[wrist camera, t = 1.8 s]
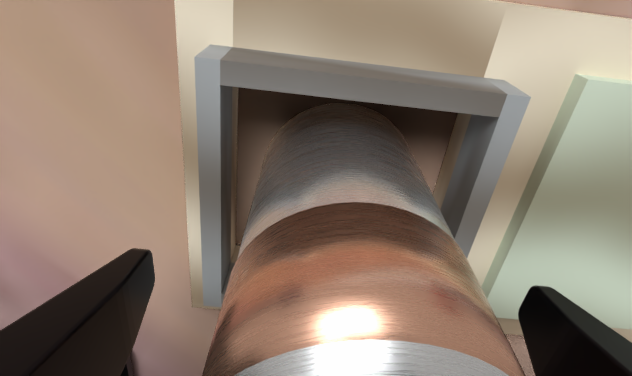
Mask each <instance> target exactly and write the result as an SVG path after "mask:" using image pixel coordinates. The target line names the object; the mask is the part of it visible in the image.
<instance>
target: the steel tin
mask: <svg viewBox="0 0 632 376" xmlns="http://www.w3.org/2000/svg"><path fill="white" fill-rule="evenodd" d="M202 376H525V374H524V372H523V370H522V368H521V366H520V364H519V362H518V360H517V358H516V356H515V354H514V352H513V350H512V348H511V346H510V344H509V342H508V340H507V338H506V336H505V334H504V332H503V330H502V328H501V326H500V324H499V322H498V320H497V318H496V316H495V314H494V312H493V310H492V308H491V306H490V304H489V302H488V300H487V298H486V296H485V294H484V292H483V290H482V288H481V286H480V284H479V282H478V280H477V278H476V276H475V274H474V272H473V270H472V268H471V266H470V264H469V262H468V260H467V258H466V256H465V255H464V253H463V251H462V250H461V248H460V247H459V245H458V244H457V243H456V241H455V239H454V237H453V235H452V233H451V231H450V229H449V227H448V225H447V223H446V221H445V219H444V217H443V215H442V213H441V211H440V209H439V207H438V205H437V203H436V201H435V199H434V197H433V195H432V193H431V191H430V189H429V186H428V184H427V182H426V180H425V178H424V176H423V174H422V172H421V170H420V168H419V166H418V164H417V162H416V160H415V158H414V156H413V154H412V152H411V150H410V148H409V146H408V144H407V142H406V140H405V138H404V137H403V135H402V133H401V132H400V131H399V130H398V128H397V127H396V126H395V125H394V124H393V123H392V122H391V121H390V120H388V119H387V118H386V117H384V116H383V115H381V114H380V113H378V112H376V111H374V110H371V109H369V108H366V107H363V106H360V105H354V104H348V103H332V104H325V105H320V106H316V107H313V108H310V109H307V110H305V111H303V112H301V113H299V114H297V115H296V116H294V117H293V118H291V119H290V120H289V121H288V122H286V123H285V124H284V125H283V126H282V127H281V128H280V129H279V131H278V132H277V133H276V134H275V136H274V137H273V139H272V140H271V142H270V144H269V146H268V149H267V151H266V155H265V158H264V162H263V166H262V169H261V173H260V177H259V180H258V184H257V188H256V191H255V195H254V199H253V202H252V206H251V210H250V213H249V217H248V221H247V224H246V228H245V232H244V236H243V239H242V243H241V247H240V250H239V254H238V258H237V261H236V263H235V265H234V267H233V269H232V271H231V275H230V278H229V282H228V285H227V289H226V292H225V296H224V299H223V303H222V307H221V310H220V314H219V317H218V321H217V325H216V328H215V332H214V335H213V339H212V342H211V346H210V350H209V353H208V357H207V360H206V364H205V368H204V371H203V375H202Z"/></svg>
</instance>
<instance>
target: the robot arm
mask: <svg viewBox="0 0 632 376" xmlns="http://www.w3.org/2000/svg"><path fill="white" fill-rule="evenodd" d="M154 282H155V274H154V265H153V257H152V253H151V251H150V250H146V249H136V248H134V249H130V250H128V251H127V252H125V253H124V254H122V255H120V256H119V257H117V258H116V259H114V260H112V261H111V262H109V263H108V264H106V265H104V266H103V267H101V268H100V269H98V270H96V271H95V272H93V273H92V274H90V275H88V276H87V277H85V278H84V279H82V280H80V281H79V282H77V283H76V284H74V285H72V286H71V287H69V288H68V289H66V290H64V291H63V292H61V293H60V294H58V295H56V296H55V297H53V298H52V299H50V300H48V301H47V302H45V303H44V304H42V305H40V306H39V307H37V308H36V309H34V310H32V311H31V312H29V313H28V314H26V315H24V316H23V317H21V318H20V319H18V320H16V321H15V322H13V323H12V324H10V325H8V326H7V327H5V328H4V329H2V330H0V376H134V375H133V370H132V364H131V359H130V353H131V351H132V349H133V346H134V343H135V340H136V338H137V335H138V332H139V329H140V326H141V323H142V320H143V317H144V314H145V311H146V308H147V305H148V302H149V299H150V296H151V293H152V290H153V287H154ZM518 318H519V322H520V326H521V329H522V332H523V336H524V339H525V343H526V346H527V349H528V353H529V356H530V359H531V363H532V366H533V369H534V372H535V375H536V376H632V342H630V341H629V340H627V339H626V338H624V337H623V336H621V335H620V334H619V333H617V332H616V331H614V330H613V329H611V328H610V327H608V326H607V325H606V324H604V323H603V322H601V321H600V320H598V319H597V318H595V317H594V316H592V315H591V314H590V313H588V312H587V311H585V310H584V309H582V308H581V307H579V306H578V305H577V304H575V303H574V302H572V301H571V300H569V299H568V298H566V297H565V296H564V295H562V294H561V293H559V292H558V291H556V290H555V289H553V288H551V287H548V286H538V285H535V286H532V287H531V288H530V289H529V290H528V292H527V294H526V296H525V298H524V300H523V302H522V304H521V306H520V308H519V311H518Z"/></svg>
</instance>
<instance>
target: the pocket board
mask: <svg viewBox="0 0 632 376" xmlns="http://www.w3.org/2000/svg"><path fill="white" fill-rule="evenodd" d="M174 2H175V19H176V37H177V54H178V72H179V89H180V107H181V124H182V142H183V160H184V177H185V195H186V212H187V230H188V247H189V265H190V282H191V300H192V307H195V308H207V309H218V310H221V307H222V303H223V299H224V296H225V292H226V289H227V285H228V282H229V278H230V275H231V271H232V269H233V267H234V265H235V263H236V261H237V258H238V254H239V250H240V247H241V246H238V245H235V244H236V189H237V134H238V87H241V88H249V89H258V90H266V91H275V92H284V93H292V94H301V95H310V96H318V97H327V98H335V99H344V100H353V101H361V102H370V103H378V104H387V105H396V106H404V107H413V108H422V109H430V110H439V111H447V112H456V113H458V115H457V118H456V121H455V124H454V128H453V131H452V134H451V137H450V141H449V144H448V147H447V150H446V154H445V157H444V160H443V163H442V167H441V170H440V173H439V176H438V179H437V183H436V186H435V189H434V192H433V197H434V199H435V201H436V203H437V205H438V207H439V209H440V211H441V213H442V215H443V217H444V219H445V221H446V223H447V225H448V227H449V229H450V231H451V233H452V235H453V237H454V239H455V241H456V243H457V244H458V245H459V247H460V248H461V250H462V251H463V253H464V255H465V256H466V258H467V260H468V262H469V264H470V266H471V268H472V270H473V272H474V274H475V276H476V278H477V280H478V282H479V284H480V286H481V288H482V290H483V292H484V294H485V296H486V298H487V300H488V302H489V304H490V306H491V308H492V310H493V312H494V314H495V316H496V318H497V320H498V322H499V324H500V326H501V328H502V330H503V332H504V334H512V335H523V332H522V329H521V326H520V322H519V318H518V311H519V308H520V306H521V304H522V302H523V300H524V298H525V296H526V294H527V292H528V290H529V289H530V288H531V287H532V286H535V285H538V286H548V287H551V288H553V289H555V290H556V291H558V292H559V293H561V294H562V295H564V296H565V297H566V298H568V299H569V300H571V301H572V302H574V303H575V304H577V305H578V306H579V307H581V308H582V309H584V310H585V311H587V312H588V313H590V314H591V315H592V316H594V317H595V318H597V319H598V320H600V321H601V322H603V323H604V324H606V325H607V326H608V327H610V328H611V329H613V330H614V331H616V332H617V333H619V334H620V335H621V336H623V337H624V338H626V339H627V340H629V341H630V342H632V19H631V18H624V17H616V16H609V15H601V14H594V13H586V12H579V11H571V10H564V9H556V8H549V7H541V6H533V5H526V4H518V3H511V2H503V1H496V0H174Z"/></svg>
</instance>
